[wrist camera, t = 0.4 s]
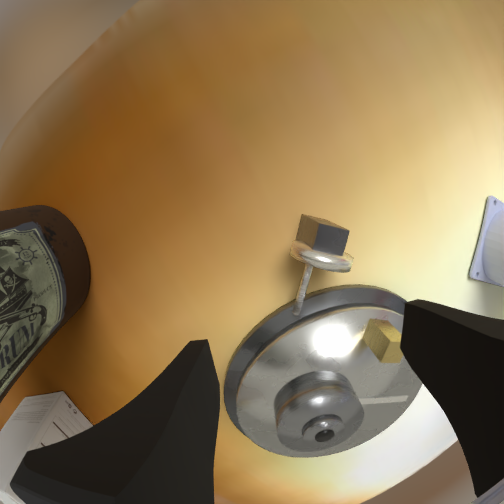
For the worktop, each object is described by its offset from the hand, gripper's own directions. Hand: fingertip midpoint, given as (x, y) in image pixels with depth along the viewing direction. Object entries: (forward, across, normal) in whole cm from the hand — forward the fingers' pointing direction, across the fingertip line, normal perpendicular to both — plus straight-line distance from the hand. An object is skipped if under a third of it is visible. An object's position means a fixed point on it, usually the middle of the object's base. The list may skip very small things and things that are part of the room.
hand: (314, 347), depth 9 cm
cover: (+8, -2, +11) cm, 14 cm away
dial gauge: (+10, -2, 0) cm, 10 cm away
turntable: (+9, -4, +12) cm, 15 cm away
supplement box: (+10, +26, +16) cm, 32 cm away
